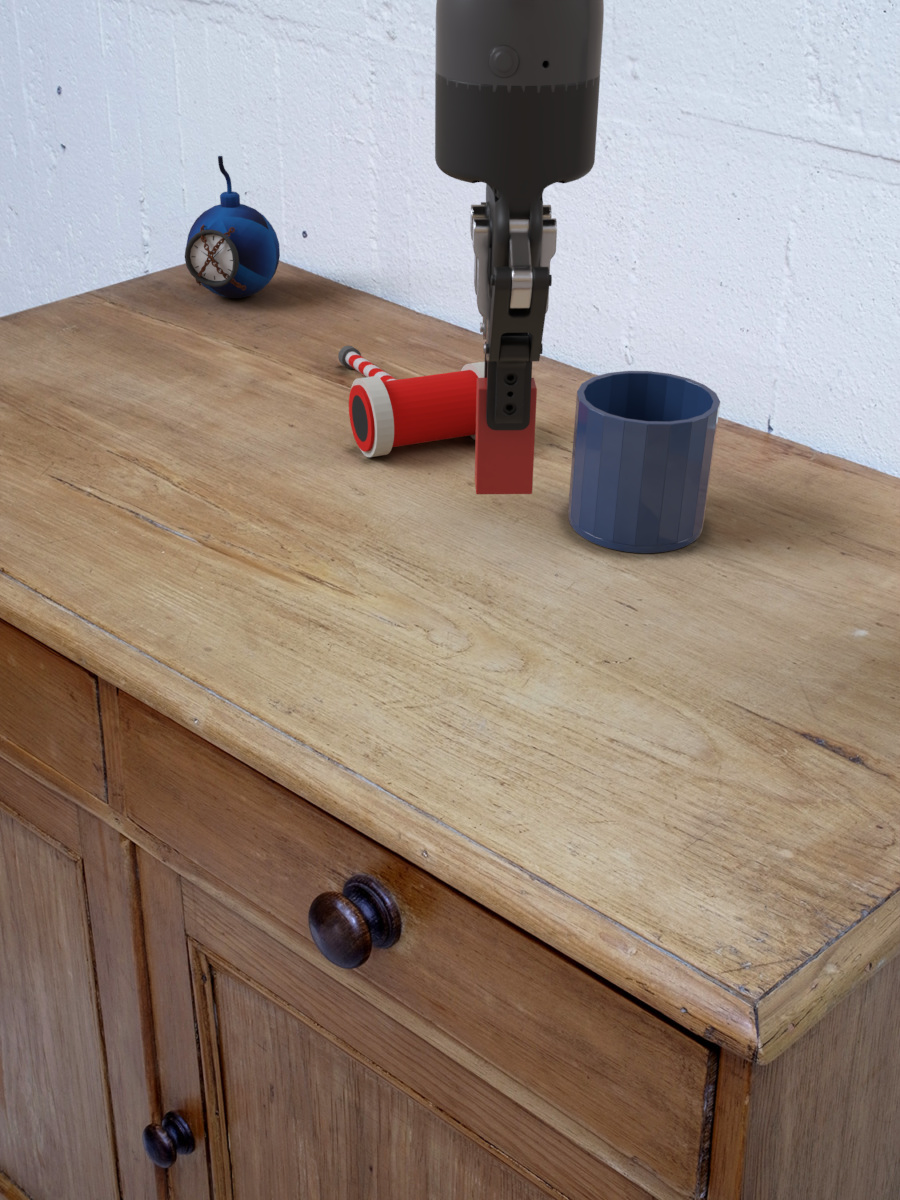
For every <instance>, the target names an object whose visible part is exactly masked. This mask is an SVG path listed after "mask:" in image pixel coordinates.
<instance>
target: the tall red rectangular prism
mask: <svg viewBox="0 0 900 1200" xmlns="http://www.w3.org/2000/svg"><path fill="white" fill-rule="evenodd" d="M501 336H525V333H504V334H502V335H501ZM486 397H487V378H477V392H476V440H475V445H474V446H475V448H474V487H475V488H474V489H475V494H476V495H532V494H533V486H534V485H533V484H534V462H535V461H534V460H535V440H536V419H537V418H536V416H537V397H538V388H537V384H536V380H535V378H534V377H532V380H531V403H530V423H529V425H528V427H527V428H525V429H523V430H492V429H490V428H489V427H488V425H487V421H486Z"/></svg>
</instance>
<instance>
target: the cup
mask: <svg viewBox="0 0 900 1200" xmlns="http://www.w3.org/2000/svg"><path fill="white" fill-rule="evenodd" d="M720 407H721V400H720V398H719V396H718V394H717V393H716V392H715V391H714V390H713V389H712V388H710V387H708V386H707V385H705V384H703V383H701V382H699V381H696V380H694V379H692V378H689V377H686V376H685V377H684V376H680V375H677V374H672V373H669V372H668V373H667V372H659V371H653V370H652V371H651V370H624V371H622V370H621V371H615V372H613V371H612V372H607V373H603V374H599V375H595V376H593V377H591V378H588V379H587V380H585V381H584V382H582V383H581V384H580V386H579V388H578V389H577V390H576V401H575V414H574V427H573V439H572V440H573V441H572V451H571V452H572V453H571V464H570V465H571V466H570V477H569V478H570V479H569V493H568V506H567V510H568V513H567V514H568V515H567V516H568V518H567V519H568V522H569V525H570V527H571V528H572V529H573V530H574V532H575V533H576V534H577V535H579V536H580V537H582V538H583V539H584V540H587V541H588V542H591V543H593V544H595V545H597V546H600V547H603V548H607V549H610V550H615V551H618V552H624V553H634V554H657V553H658V554H659V553H666V552H673V551H675V550H679V549H682V548H685V547H687V546H689V545H691V544H693V543H694V542H696V541H697V540H698V539H699V537H700V536H701V534H702V532H703V530H704V522H705V520H706V511H707V504H708V496H709V489H710V481H711V475H712V466H713V459H714V452H715V444H716V438H717V431H718V430H717V429H718V423H719V422H718V421H719V415H720Z"/></svg>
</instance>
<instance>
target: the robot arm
mask: <svg viewBox="0 0 900 1200" xmlns="http://www.w3.org/2000/svg"><path fill="white" fill-rule="evenodd" d="M604 3H605V1H604V0H436V3H435V4H436V5H435V46H434V47H435V49H434V50H435V53H434V54H435V56H434V57H435V60H434V62H435V71H434V73H435V74H434V76H435V78H434V82H435V83H434V84H435V85H434V86H435V87H434V111H435V112H434V121H435V122H434V159H435V164H436V166H437V167H438V169H439V170H440V171H441V172H442V173H443V174H445V175H446V176H448V177H451V178H453V179H456V180H458V181H461V182H466V183H470V184H475V183H476V184H477V183H484V184H485V201H481V202H480V204H470V212H469V214H470V215H469V216H470V217H469V223H470V224H469V232H470V238H471V241H472V250H473V253H474V255H473V256H474V259H473V261H474V262H473V265H474V266H473V285H474V292H475V296H476V305H477V309H478V310H477V311H478V313H479V314H480V316H481V317H482V322H480V323H479V332H480V333H482V340H485V341H484V343H483V344H482V345H483V347H482V349H483V350H482V354H483V355H484V362H485V364H484V378H487V397H486V421H487V425H488V427H489V428H490V429H492V430H523V429H525V428H527V427H528V425H529V423H530V403H531V380H532V378H533V362H540V358H541V355H543V335H544V329H545V321H546V314H547V313H548V310H549V301H550V287H552V284H553V283H552V282H553V277H552V274H551V261H552V259H553V258H554V256H556V251H557V239H558V238H557V237H558V236H557V235H558V223H557V218H552V214H553V213H552V205H551V204H544V200H543V194H544V191H545V189H546V188H548V187H549V186H551V185H554V184H556V183H557V184H567V183H573V182H575V181H577V180H579V179H582V178H584V177H585V176H586V175H588V174H589V173H590V172H591V171H592V169H593V167H594V166H595V161H596V145H597V131H598V114H599V98H600V82H601V70H602V69H601V68H602V51H603V37H604V21H605V19H604V18H605V17H604V16H605V15H604V13H605V5H604ZM504 333H525V336H501V335H502V334H504Z"/></svg>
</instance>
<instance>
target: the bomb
mask: <svg viewBox="0 0 900 1200" xmlns="http://www.w3.org/2000/svg"><path fill="white" fill-rule="evenodd" d="M217 161H218V169H219V171H220V173H221V174H222V176H223V177H224V179H225V183H226V191H223V192H221V193H220V195H219V202H220V204H215V205H213V206H211V207H210V208H208V209H206V210H204V211H203V212H202V213H201V214H200V215H199V216H198V217H197V218H196V219H195V220H194V222H193V224H192V225H191V227H190V230H189V232H188V235H187V240H186V244H185V245H186V246H185V251H184V262H185V266H186V268H187V270H188V271H189V273H190V275H191V276H192V277H193V278H194V279H195V281H196V283H197V284H198V285H199V286H202V287H204V288H205V289H207V290H208V291H209V292H211V293H212V294H215V295H217V296H220V297H223V298H228V299H243V298H247V297H251V296H253V295H255V294H256V293H258V292H261V291H262V290H263V289H264V288H265V287H267V285H268V284H269V283H271V281H272V279H273V278H274V276H275V275H276V272H277V269H278V266H279V263H280V258H281V253H280V250H281V249H280V242H279V238H278V234H277V232H276V231H275V229H274V226H273V225H272V224H271V222H270V221H269V220H268V219H267V217H266V216H265V215H264V214H262V213H261V212H259V211H258V210H257V209H256V208H255V207H254V208H253V207H251V206H249V205H247V204H243V203H241V195H240V193H238V192H237V191H233V190H232V187H233V186H232V179H231V176H230V174H229V173H228V171H227V169H226V167H225V164H224V158H223V155H218V156H217Z"/></svg>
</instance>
